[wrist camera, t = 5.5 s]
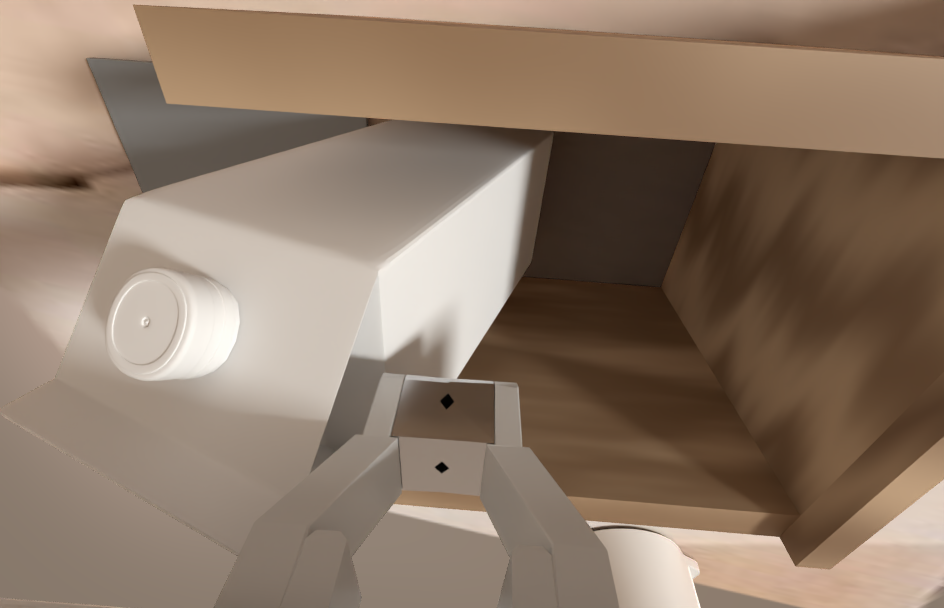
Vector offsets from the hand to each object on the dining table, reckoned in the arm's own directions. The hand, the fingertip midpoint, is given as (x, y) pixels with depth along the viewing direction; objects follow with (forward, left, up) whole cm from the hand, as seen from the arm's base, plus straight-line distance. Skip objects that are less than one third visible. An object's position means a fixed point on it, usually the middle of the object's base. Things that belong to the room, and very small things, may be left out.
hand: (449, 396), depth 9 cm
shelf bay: (-1, -3, -17) cm, 17 cm away
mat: (-1, +13, -17) cm, 21 cm away
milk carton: (-1, 0, -16) cm, 16 cm away
